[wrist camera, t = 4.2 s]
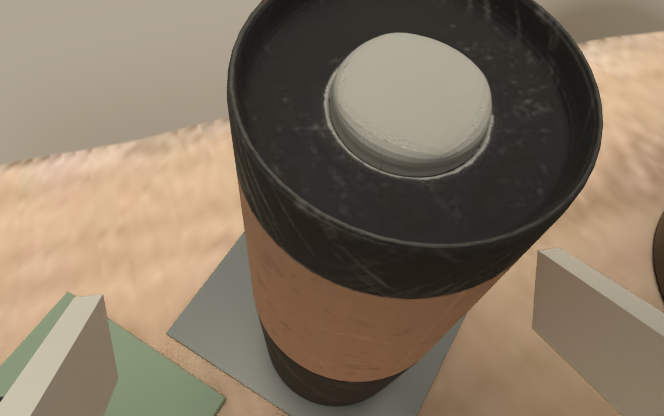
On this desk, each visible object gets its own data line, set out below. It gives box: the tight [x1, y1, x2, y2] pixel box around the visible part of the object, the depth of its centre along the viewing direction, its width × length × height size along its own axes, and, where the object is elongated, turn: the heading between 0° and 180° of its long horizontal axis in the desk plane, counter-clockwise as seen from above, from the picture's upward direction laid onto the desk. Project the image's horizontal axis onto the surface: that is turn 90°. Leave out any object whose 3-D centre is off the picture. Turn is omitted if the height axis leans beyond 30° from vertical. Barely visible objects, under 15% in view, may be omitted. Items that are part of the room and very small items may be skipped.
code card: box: [166, 232, 466, 416], centre depth 29 cm, size 13×11×1 cm
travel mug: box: [227, 0, 603, 407], centre depth 19 cm, size 8×8×20 cm
